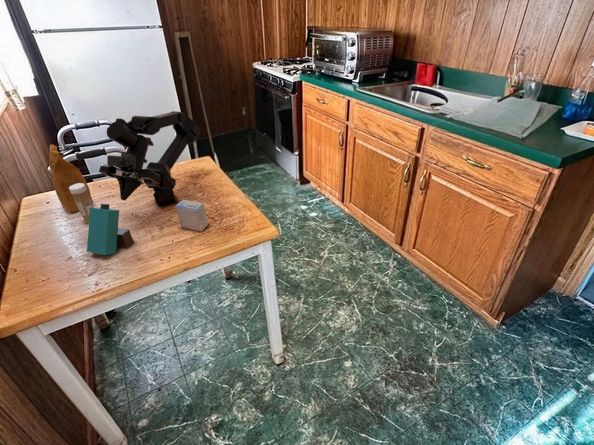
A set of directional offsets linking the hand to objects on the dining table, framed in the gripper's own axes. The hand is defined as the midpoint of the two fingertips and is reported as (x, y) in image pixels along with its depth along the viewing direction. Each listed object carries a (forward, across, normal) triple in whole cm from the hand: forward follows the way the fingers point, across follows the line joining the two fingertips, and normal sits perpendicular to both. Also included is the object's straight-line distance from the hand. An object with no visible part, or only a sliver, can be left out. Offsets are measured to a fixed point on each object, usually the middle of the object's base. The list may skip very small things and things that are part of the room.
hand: (123, 200), depth 103 cm
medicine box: (+3, +19, +12) cm, 23 cm away
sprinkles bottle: (+7, -18, +8) cm, 21 cm away
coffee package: (+2, -31, +14) cm, 34 cm away
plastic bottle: (+15, 0, 0) cm, 15 cm away
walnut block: (+13, 0, +2) cm, 13 cm away
